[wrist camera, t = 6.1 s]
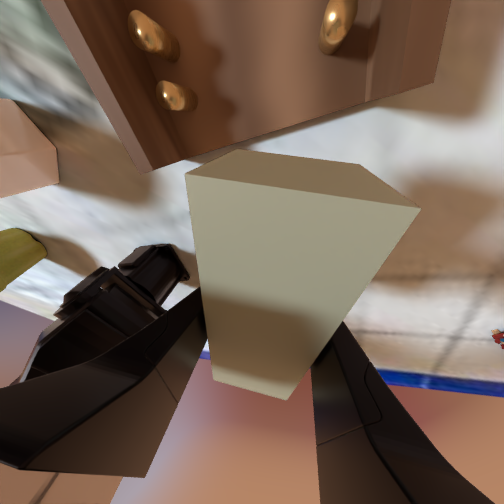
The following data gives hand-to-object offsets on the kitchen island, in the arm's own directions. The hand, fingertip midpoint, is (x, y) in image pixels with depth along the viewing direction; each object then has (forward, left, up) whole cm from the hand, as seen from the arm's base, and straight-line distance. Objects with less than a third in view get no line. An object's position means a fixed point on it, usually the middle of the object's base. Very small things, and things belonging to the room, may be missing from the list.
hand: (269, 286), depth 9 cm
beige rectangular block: (0, 0, -1) cm, 1 cm away
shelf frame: (+12, 0, -11) cm, 16 cm away
